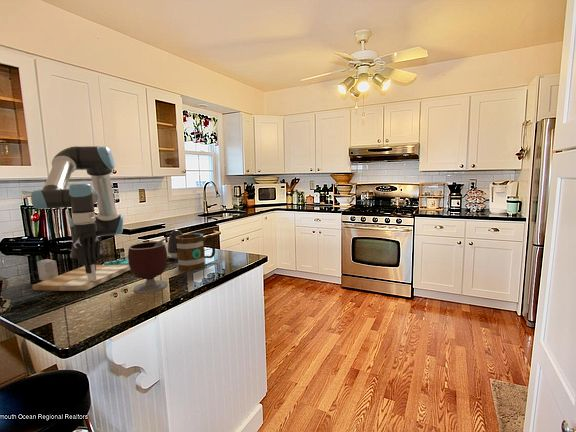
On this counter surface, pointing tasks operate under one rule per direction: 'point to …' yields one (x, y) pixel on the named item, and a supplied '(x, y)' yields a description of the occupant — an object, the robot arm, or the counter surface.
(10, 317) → the counter surface
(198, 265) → the mug
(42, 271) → the medicine box
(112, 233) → the robot arm
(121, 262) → the alien figure
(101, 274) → the ash plank
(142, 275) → the mate gourd
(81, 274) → the oak board
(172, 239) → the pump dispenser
